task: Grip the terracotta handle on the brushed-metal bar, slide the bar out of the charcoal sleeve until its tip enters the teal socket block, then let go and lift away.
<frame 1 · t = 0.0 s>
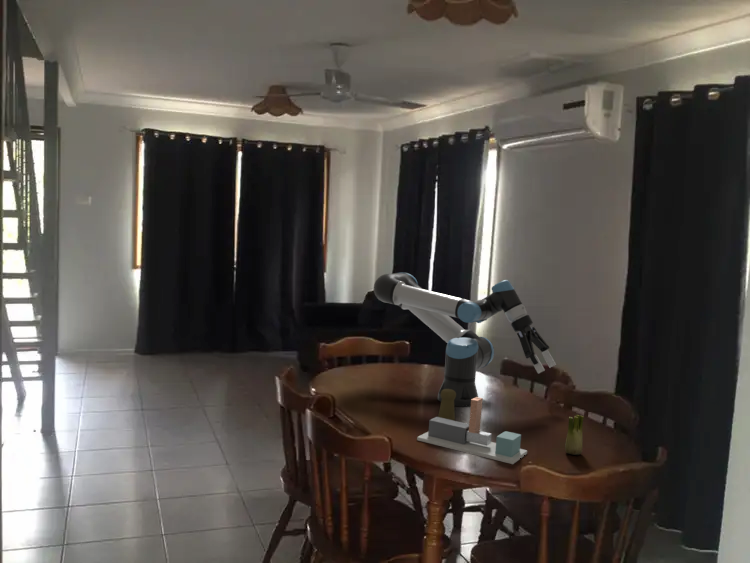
hand: (547, 369, 266), 15 cm above the table, tool tilted 35°, fingers open, 13 cm apart
outer sleeve: (448, 441, 222), resting on base board
socket block: (507, 455, 213), resting on base board
fennel bulb: (572, 454, 219), on the table
cork: (446, 421, 244), on the table
inner bar: (466, 417, 219), point 9 cm above the table, slide at 0.0 cm
base board: (471, 446, 218), on the table
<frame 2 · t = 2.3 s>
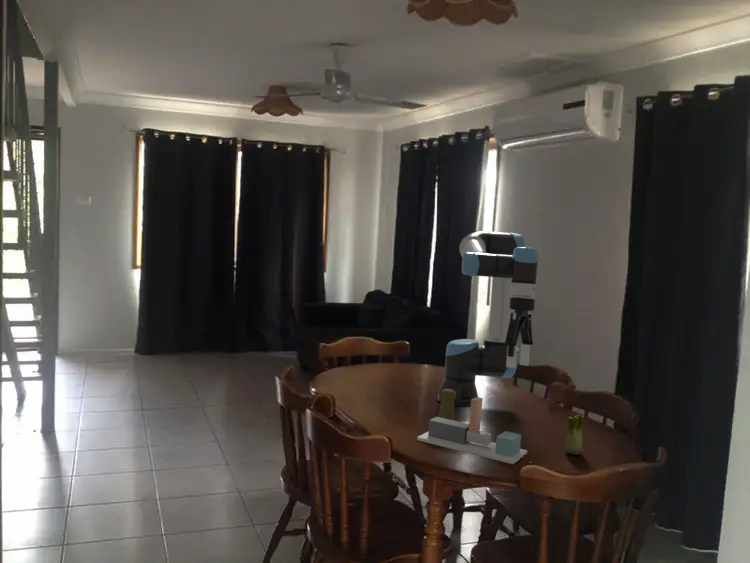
hand: (517, 366, 221), 25 cm above the table, tool pointing down, fingers open, 13 cm apart
nothing on the table moved.
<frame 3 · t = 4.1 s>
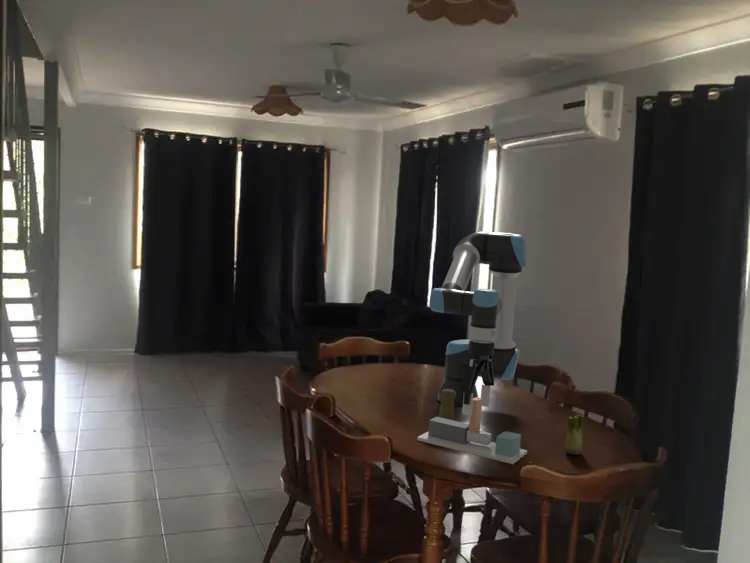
hand: (475, 410, 217), 11 cm above the table, tool pointing down, fingers open, 13 cm apart
nothing on the table moved.
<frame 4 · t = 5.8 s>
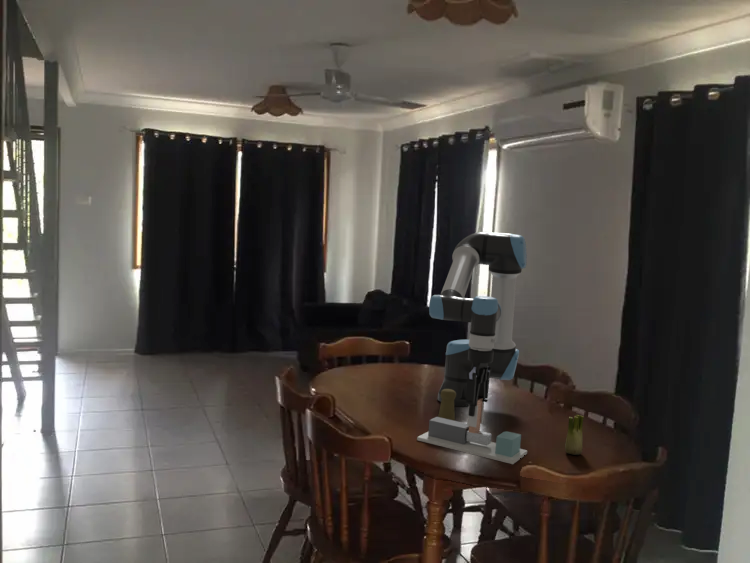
hand: (474, 424, 217), 7 cm above the table, tool pointing down, fingers closed on inner bar, 4 cm apart
inner bar: (466, 417, 219), point 8 cm above the table, slide at 0.0 cm, touching gripper
everything else where it was.
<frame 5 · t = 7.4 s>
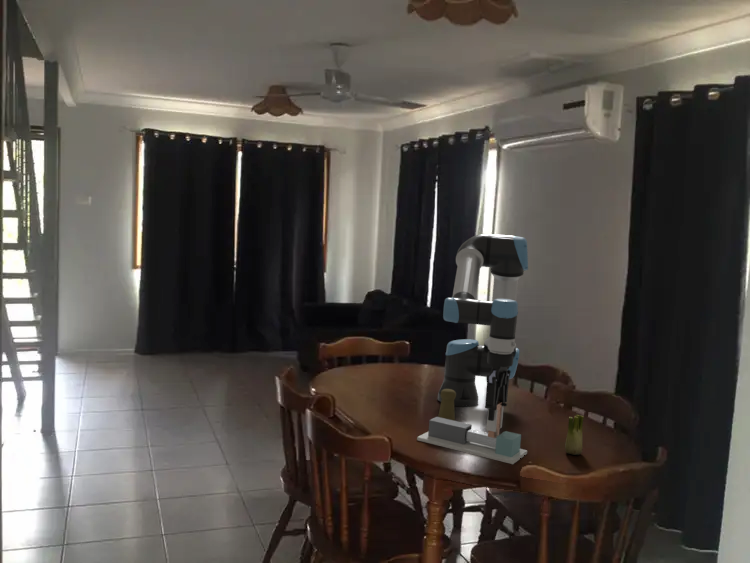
hand: (494, 428, 214), 7 cm above the table, tool pointing down, fingers closed on inner bar, 4 cm apart
inner bar: (485, 422, 216), point 8 cm above the table, slide at 6.2 cm, touching gripper
everything else where it was.
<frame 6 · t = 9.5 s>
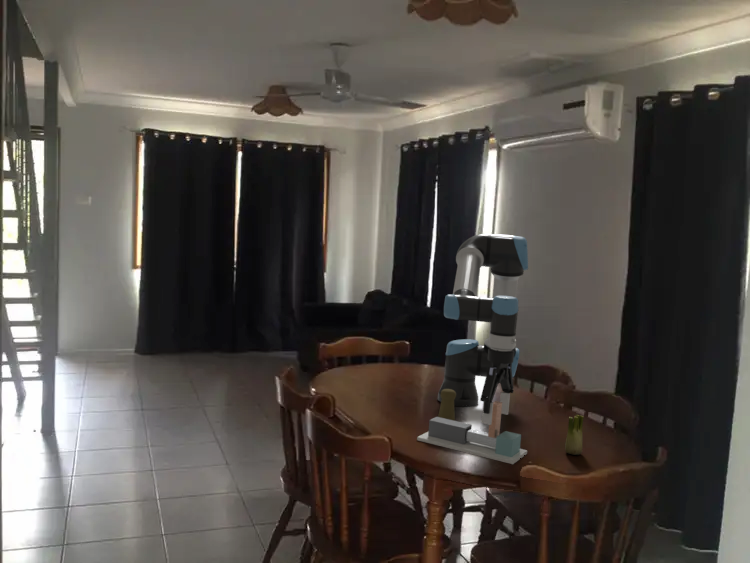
hand: (495, 418, 214), 10 cm above the table, tool pointing down, fingers open, 13 cm apart
inner bar: (485, 422, 216), point 8 cm above the table, slide at 6.3 cm
everything else where it was.
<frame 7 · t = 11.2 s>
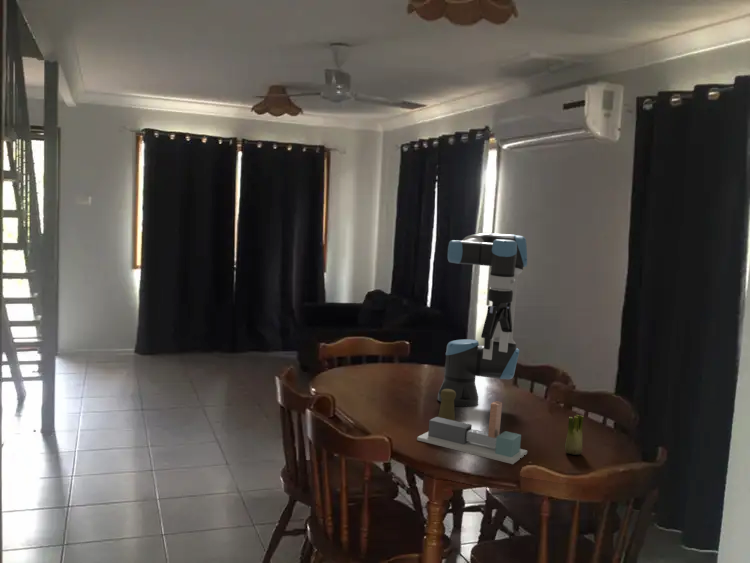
hand: (495, 355, 228), 26 cm above the table, tool pointing down, fingers open, 13 cm apart
nothing on the table moved.
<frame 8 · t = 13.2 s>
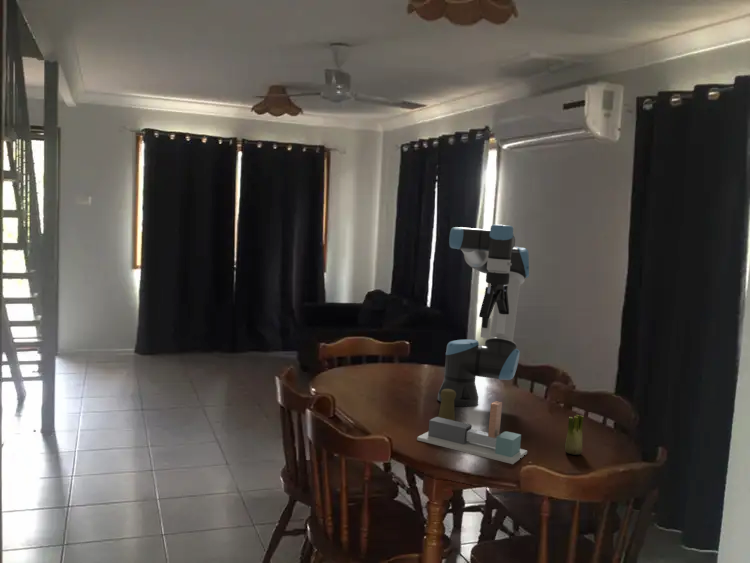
hand: (492, 335, 239), 31 cm above the table, tool pointing down, fingers open, 13 cm apart
nothing on the table moved.
at the end: inner bar slide at 6.3 cm; the gripper is holding nothing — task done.
